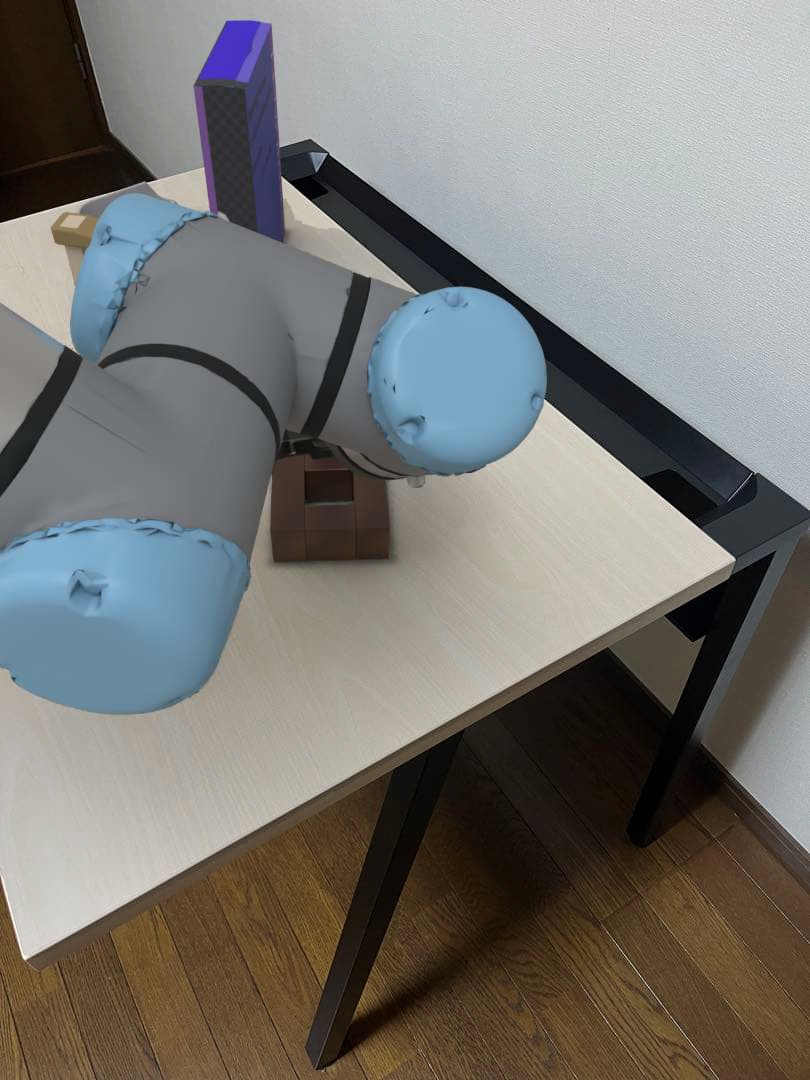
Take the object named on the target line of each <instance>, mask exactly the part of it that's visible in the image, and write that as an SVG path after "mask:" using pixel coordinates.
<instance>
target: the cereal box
mask: <svg viewBox="0 0 810 1080" xmlns="http://www.w3.org/2000/svg"><path fill="white" fill-rule="evenodd" d="M273 39H274V38H273V24H272V23H270V22H264V21H259V20H250V19H247V20H246V19H245V20H243V19H242V20H241V19H240V20H239V19H237V20H226V21H225V23H224V25H223V27H222V29H221V30H220V32H219V35H218V37H217V38H216V41H215V42H214V44H213V46H212V48H211V50H210V52H209V54H208V55H207V58H206V60H205V62H204V63H203V66H202V68H201V70H200V71H199V74H198V76H197V78H196V80H195V82H194V84H193V93H194V100H195V101H194V102H195V108H196V116H197V123H198V131H199V138H200V139H199V140H200V146H201V153H202V161H203V169H204V177H205V182H206V183H205V184H206V191H207V199H208V206H209V212H211V213H214V214H216V215H219V216H220V217H221V218H222V219H224V220H226V221H229V222H231V223H234V224H236V225H239V226H241V227H244V228H246V229H249V230H251V231H254V232H256V233H259V234H261V235H264V236H266V237H269V238H271V239H274V240H276V241H279V242H281V243H284V239H285V238H284V237H285V234H286V226H285V225H286V224H285V209H284V194H283V193H284V192H283V178H282V165H281V164H282V163H281V161H282V160H281V147H280V130H279V118H278V117H279V115H278V102H277V86H276V72H275V71H276V70H275V57H274V56H275V54H274V40H273Z"/></svg>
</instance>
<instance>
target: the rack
mask: <svg viewBox="0 0 810 1080" xmlns="http://www.w3.org/2000/svg"><path fill="white" fill-rule="evenodd" d="M270 493H271V495H270V519H269V521H270V525H269V533H270V543H271V550H272V551H271V552H272V553H271V554H272V560H273V563H295V562H296V563H299V562H301V563H302V562H303V563H304V562H329V561H333V562H334V561H355V560H356V561H363V560H364V561H365V560H389V559H390V543H391V542H390V539H391V521H390V511H389V509H390V508H389V499H388V488H387V481H381V480H372V479H368V478H365V477H362V476H360V475H358V474H356V473H354V472H352V471H351V470H349V469H348V468H346V467H345V466H344V465H343V464H342V463H341V462H340V461H339V460H338V459H337V458H336V457H332V458H325V459H316V460H315V459H312V458H311V457H310V455H309V454H306V455H301V456H295V457H290V458H284V459H279V460H276V465H275V468H274V470H273V472H272V475H271V492H270ZM330 502H331V503H333V502H352V504H350V503H349V504H318V505H317V504H316V505H314V504H313V505H307V503H330Z"/></svg>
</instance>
